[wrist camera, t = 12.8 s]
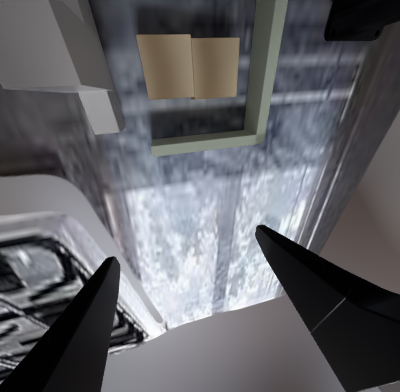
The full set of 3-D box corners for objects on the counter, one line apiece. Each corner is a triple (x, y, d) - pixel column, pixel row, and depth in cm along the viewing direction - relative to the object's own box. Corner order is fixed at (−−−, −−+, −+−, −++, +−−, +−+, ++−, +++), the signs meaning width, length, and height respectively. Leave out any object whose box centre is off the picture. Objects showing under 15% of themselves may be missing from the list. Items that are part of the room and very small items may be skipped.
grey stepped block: (93, -9, 11) (-40, -225, 4) (130, 126, 16) (106, 150, 9) (46, -11, 11) (-217, -265, 3) (99, 129, 15) (46, 157, 8)
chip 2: (228, 46, 14) (239, 37, 12) (226, 96, 17) (236, 96, 15) (186, 47, 14) (191, 38, 12) (190, 99, 16) (195, 99, 14)
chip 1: (185, 44, 14) (190, 34, 12) (190, 97, 16) (194, 96, 14) (139, 44, 13) (136, 34, 11) (150, 99, 15) (149, 100, 13)
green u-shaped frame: (273, -53, 12) (303, -93, 9) (250, 137, 19) (263, 143, 17) (106, -70, 10) (88, -126, 7) (153, 148, 18) (153, 156, 15)
